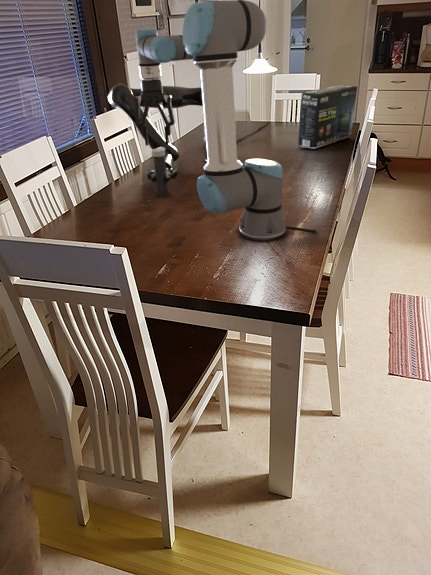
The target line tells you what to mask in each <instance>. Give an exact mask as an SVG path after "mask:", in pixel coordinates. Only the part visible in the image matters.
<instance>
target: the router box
mask: <svg viewBox="0 0 431 575" xmlns="http://www.w3.org/2000/svg"><path fill="white" fill-rule="evenodd" d="M357 93H358V86H356V85H350V84H339V85H338V84H337V85H334V86H328V87H324V88H318V89H314V90H309V91H304V92H301V93H300V109H299V110H300V111H299V124H298V137H297V146H298V145H302V146H307V147H317V146H320V145H323V144H325V143H328V142H331V141H333V140H336V139H338V138H341V137H344V136H347V135H351V136H352V133H353V132H352V131H353V125H354V115H355V109H356V99H357ZM311 151H313V150H312V149H311Z"/></svg>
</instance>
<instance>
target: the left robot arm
mask: <svg viewBox="0 0 431 575" xmlns="http://www.w3.org/2000/svg"><path fill="white" fill-rule="evenodd" d="M162 89H163V93H164V95H166V96H172V100H171V104H172V109H180V108H183V107H184V108H185V107H187V106H198V107H199V106H200V107H203V99H202V87H200V86H199V87H186V86H175V85H162ZM141 94H142V90H141V88H131V87H129V86H127V85H126V84H123V83H118V84H116V85H114V86H113V87H111V88H110V90H109V92H108V93H107V101H108V102H109V104H110V105H111V107H113V108H115V109H117V110H118V109H119V110H122V111H123V112H124V113H125V114H126V115H127V116H128V117H129V119H130V120H131V121H132V123H133V124H134V126H135V128H136V130H137V131H138V133H139V135H140V136H141V138H142V139H143V140H144V141H145V136H142V132H141V127H140V126H136V123H135V102H134V98H135V97H136V96H137V97H138V96H141ZM161 103H162V105H163V108H164V110H166V109H167V110H168V107H167V102H166V101H165V99H163V100H162V102H161ZM142 108H145V102H144V101H143V100H142V99H141V102H140V122H141V121H142V117H143V113H144V110H143V109H142ZM149 109H158V107H154V106H153V107H149ZM266 122H268V123H269V121H268V120H266ZM145 126H147V130H148V139H149V144H148V146H149V148H150V149H151V150H153V149H157V148H162V149H164V151H165V166H166V182H167V183H169V182H170V181H171V179H172V180H176V179H177V178H178V177H179V176H180V170H179V168H175V169H174V165H175V162H176V161H177V160H179V158H180V153H179V150H178V149H177V148H176V146H174V145H172V144H171V143H169V144H168V145H166V140H165V137H163V136H162V135H161V133H160V132H159V130H157V128H156V127H155V125H154V124H153V123H152V122H151V121H150V119H149V118H148V117H147V119H146V123H145ZM203 135H204V136H203V139H204V138H205V141H204V156H205V158H204V161H205V162H206V163H207V161H208V159H207V147H206V135H205V123H204V122H203ZM242 139H243V138H241V137H240V138H238V139H236V143H237V142H238V141H241V140H242ZM145 175H146V178H147V180H148V181H150V182H152V183H153V184H154V183H155V174H154V169H152V170H149V169H146V170H145ZM155 184H156V183H155Z"/></svg>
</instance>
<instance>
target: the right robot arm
mask: <svg viewBox="0 0 431 575" xmlns="http://www.w3.org/2000/svg"><path fill="white" fill-rule="evenodd" d="M185 13H186V14H185V16H184V19H183V22H182V34H173V35H172V34H171V35H159V34H158V30H157V29H156V28H140V29H136V30H135V44H136V53H137V61H138V72H139V78H140V79H141V80H140V89H141V90H142V94H141V96H138V97H137V96H136V97H135V98H134V102H135V123H136V126H140V127H141V132H142V136H145V140H144V144H145V147H148V146H149V145H148V144H149V139H148V130H147V126H145V123H146V119H147V118H148V114H149V110H150V108H149V107H153V106H154V107H158V108H157V109H158V111H159V113H160V115H161V118H162V120H163V122H164V125H165V126H164V128H163V130H164V139H165V140H166V145H168V144H170V139H169V136H171V134H172V131H171V126H174V125H175V123H176V119H175V115H174V110H173V109H174V108H172V104H171V100H172V96H166V95H164V93H163V89H162V86H163V79H162V68H161V64H166V63H170V62H178V61H189V60H192V61H193V65H195V66H196V68H198V69H199V74H200V86H201V87H202V99H203V106H202V110H203V124H204V123H205V135H206V147H207V159H208V161H207V162H206V163H205V164H204V165H203V167H202V172H203V174H202V175H200V176H199V177H197V181H196V189H197V193H198V197H199V200H200V202H201V204H202V205H203V207H204V208H205V209H206V210H207V211H208V212H209V213H211V214H213V215H217V214H221V213H223V214H225V213H228V212H232V211H235V210H239V209H240V210H241V209H244V211H243V213H242V216H241V218H240V220H239V226H238V232H239V235H240V236H241V237H242V238H244V239H247V240H250V241H254V242H271V241H277V240H279V239H281V238H283V237H285V235H286V234H287V230H288V231H289V230H291V231H297V232H303V233H304V232H305V233H310V234H311V233H313V234H315V233H317V229H310V228H303V227H298V226H288V225H287V223H286V221H285V216H284V214H283V210H282V200H283V181H284V180H283V179H284V174H283V173H284V172H283V171H284V169H283V166H282V164H280V162H277V161H275V160H270V159H265V158H249V159H246V160H245V161H244V163H243V162H241V160H239V158H238V146H237V142H236V140H237V138H236V135H237V129H236V128H237V127H236V126H237V125H236V111H235V110H236V109H235V93H234V92H235V91H234V90H235V89H234V74H233V73H234V72H233V67H234V65H235V64H236V62H238V52H244V51H249V50H252V49H254V48H257V47H258V46H259V45H260V44H262V42H263V41H264V39H265V36H266V34H267V28H268V23H267V18H266V14H265V13H264V11H263V10H262V8H261V7H260V6H259V5H258V4H256V3H254V2H253V1H250V0H205V1H198V2H194V3H192V4H191V5H190V6H189V8H188V9H187V11H186V12H185ZM141 99H142V100H143V101H144V102H145V107H144V109H143V112H144V113H143V117H142V121H141V122H140V108H141V107H140V102H141ZM163 99H165V101H166V102H167V107H168V109H167V111H168V115H167V113H166V111H165V109H164V108H163V105H162V103H161V102H162V100H163ZM136 126H135V127H136ZM142 136H141V137H142Z"/></svg>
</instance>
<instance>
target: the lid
mask: <svg viewBox="0 0 431 575" xmlns="http://www.w3.org/2000/svg"><path fill="white" fill-rule="evenodd" d="M164 149H165V148H163V147H159V148H157V149H151V156H152V157H153V156H154V157H160V156H164V155H165V151H164Z"/></svg>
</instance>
